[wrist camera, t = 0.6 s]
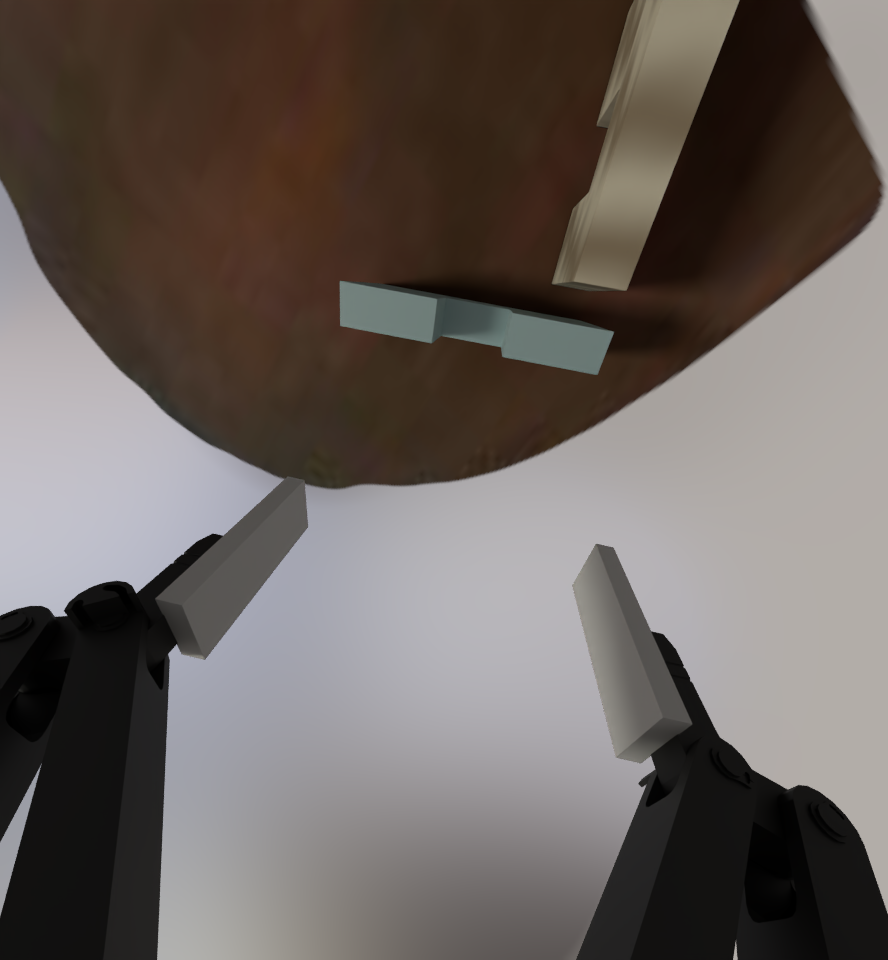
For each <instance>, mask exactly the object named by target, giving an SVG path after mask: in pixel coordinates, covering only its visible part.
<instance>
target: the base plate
mask: <svg viewBox="0 0 888 960" xmlns="http://www.w3.org/2000/svg"><path fill="white" fill-rule="evenodd" d="M340 326H344V327H349V328H355V329H360V330H365V331H370V332H375V333H381V334H386V335H391V336H396V337H402V338H407V339H412V340H417V341H423V342H428V343H433V342H434V341H435V340H436V339H438V338H439V337H440V336H446V337H451V338H456V339H461V340H467V341H472V342H477V343H482V344H488V345H493V346H498V347H501V350H502V357H506V358H511V359H517V360H522V361H527V362H532V363H538V364H543V365H548V366H553V367H558V368H564V369H569V370H574V371H579V372H585V373H590V374H595V375H597V374H598V372H599V369H600V366H601V364H602V361H603V359H604V356H605V354H606V351H607V349H608V346H609V344H610V341H611V339H612V336H613V334H614V332H613V331H610V330H607V329H604V328H601V327H598V326H595V325H592V324H589V323H586V322H583V321H580V320H574V319H569V318H563V317H558V316H553V315H547V314H542V313H536V312H531V311H526V310H520V309H515V308H510V307H504V306H499V305H493V304H488V303H483V302H477V301H472V300H466V299H461V298H456V297H450V296H445V295H440V294H434V293H429V292H423V291H418V290H413V289H407V288H402V287H396V286H391V285H386V284H379V283H364V282H349V281H340Z"/></svg>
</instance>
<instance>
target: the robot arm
mask: <svg viewBox="0 0 888 960" xmlns="http://www.w3.org/2000/svg"><path fill="white" fill-rule="evenodd" d="M307 528H308V520H307V509H306V495H305V482H304V480H301V479H297V478H292V477H287V478H286V479H285V480H284V481H282V482H281V483H280V484H279V485H278V486H277V487H276V488H275V489H274V490H273V491H272V492H271V493H269V494H268V495H267V496H266V497H265V498H264V499H263V500H262V501H261V502H260V503H259V504H257V505H256V506H255V507H254V508H253V509H252V510H251V511H250V512H249V513H248V514H247V515H246V516H244V517H243V518H242V519H241V520H240V521H239V522H238V523H237V524H236V525H235V526H234V527H233V528H231V529H230V530H229V531H228V532H227V533H226V534H225V535H224V536H221V535H217V534H211V535H209V536H207V537H205V538H203V539H201V540H199V541H197V542H196V543H195V544H194V545H192V546H191V547H190V548H189V549H188V550H187V551H185V552H184V555H181V556H180V557H178V558H177V559H176V560H175V561H174V563H173V564H170V565H169V566H168V567H167V568H166V569H165V570H163V571H162V572H161V573H160V574H159V575H157V576H156V577H155V578H154V579H153V580H152V581H150V583H148V584H147V585H146V586H145V587H144V588H142V589H141V590H140V591H139V592H138V593H136V592H135V591H134V589H133V587H132V586H131V585H130V584H128V583H127V582H121V581H113V582H106V583H102V584H99V585H96V586H93V587H91V588H89V589H87V590H85V591H83V592H82V593H80V594H78V595H77V596H76V597H75V598H74V599H72V600H71V601H70V602H69V603H68V605H67V607H66V608H65V610H64V611H65V613H66V614H67V616H63V617H55V616H54V615H53V614H52V612H51V611H50V610H49V609H48V608H45V607H43V606H29V607H24V608H20V609H16V610H13V611H11V612H8V613H6V614H3V615H1V616H0V841H1V840H2V838H3V836H4V834H5V832H6V830H7V828H8V826H9V824H10V822H11V821H12V819H13V817H14V815H15V813H16V811H17V809H18V807H19V805H20V803H21V802H22V800H23V797H24V796H25V794H26V792H27V790H28V788H29V786H30V784H31V783H32V781H33V779H34V777H35V775H36V773H37V771H38V769H39V767H40V765H41V764H42V765H41V768H40V772H39V776H38V780H37V783H36V787H35V791H34V795H33V798H32V802H31V805H30V809H29V813H28V817H27V820H26V824H25V828H24V831H23V835H22V839H21V842H20V846H19V850H18V854H17V857H16V861H15V864H14V868H13V872H12V876H11V879H10V883H9V887H8V890H7V894H6V898H5V902H4V905H3V909H2V912H1V916H0V960H157V948H158V924H159V923H158V922H159V900H160V899H159V898H160V877H161V875H160V874H161V852H162V829H163V804H164V781H165V756H166V734H167V732H166V731H167V710H168V686H169V685H168V684H169V662H170V660H169V656H168V653H169V652H170V651H171V650H172V649H173V648H174V646H175V645H176V644H177V645H178V647H179V649H180V652H181V654H183V655H187V656H191V657H195V658H200V659H204V660H205V659H206V658H207V656H208V655H209V654H210V653H211V651H212V650H213V649H214V647H215V646H216V645H217V643H218V642H219V641H220V640H221V638H222V637H223V636H224V634H225V633H226V632H227V630H228V629H229V628H230V627H231V625H232V624H233V623H234V621H235V620H236V619H237V617H238V616H239V615H240V614H241V613H242V611H243V610H244V609H245V607H246V606H247V605H248V603H249V602H250V601H251V600H252V598H253V597H254V596H255V595H256V593H257V592H258V591H259V589H260V588H261V586H263V584H264V583H265V581H266V580H267V579H268V578H269V577H270V575H271V574H272V573H273V571H274V570H275V569H276V567H277V566H278V565H279V564H280V562H281V561H282V560H283V558H284V557H285V556H286V555H287V553H288V552H289V551H290V549H291V548H292V547H293V546H294V544H295V543H296V542H297V540H298V539H299V538H300V537H301V535H302V534H303V533H304V531H305V530H306V529H307ZM572 586H573V590H574V594H575V598H576V602H577V606H578V610H579V614H580V618H581V622H582V626H583V630H584V634H585V638H586V642H587V645H588V649H589V653H590V657H591V661H592V665H593V669H594V673H595V677H596V681H597V685H598V689H599V693H600V697H601V700H602V705H603V709H604V712H605V716H606V720H607V724H608V728H609V732H610V736H611V740H612V744H613V748H614V752H615V755H616V757H617V758H620V759H624V760H629V761H633V762H637V763H642V762H643V761H645V760H646V759H647V758H648V757H650V756H651V757H652V760H653V762H654V766H655V770H654V771H653V772H651V773H650V774H648V775H647V776H645V777H644V778H643V779H642V780H641V781H640V782H639V785H640V786H641V787H643V786H644V785H646V784H647V785H646V788H645V790H644V793H643V795H642V798H641V800H640V803H639V805H638V808H637V810H636V813H635V815H634V817H633V820H632V822H631V825H630V827H629V830H628V832H627V835H626V837H625V840H624V842H623V845H622V848H621V850H620V852H619V855H618V857H617V860H616V862H615V865H614V867H613V870H612V872H611V875H610V877H609V879H608V882H607V884H606V887H605V889H604V892H603V894H602V897H601V899H600V902H599V904H598V907H597V909H596V912H595V914H594V917H593V919H592V922H591V924H590V927H589V929H588V931H587V934H586V936H585V939H584V941H583V944H582V946H581V949H580V951H579V954H578V956H577V959H576V960H733V956H734V949H735V942H736V944H737V957H738V960H888V914H887V911H886V908H885V905H884V902H883V899H882V896H881V893H880V890H879V887H878V884H877V881H876V878H875V875H874V872H873V870H872V867H871V864H870V861H869V858H868V855H867V852H866V849H865V846H864V844H863V842H862V840H861V838H860V836H859V834H858V832H857V830H856V829H855V827H854V826H853V825H852V823H851V822H850V821H849V819H848V818H847V816H846V815H845V814H844V813H843V812H842V811H841V810H840V809H839V808H838V807H837V806H836V805H835V804H834V803H833V802H832V801H831V800H829V799H828V798H826V797H825V796H824V795H823V794H821V793H820V792H819V791H816V790H815V789H812V788H810V787H808V786H802V785H798V786H796V787H793V788H791V789H789V790H787V789H785V788H783V787H782V786H780V785H778V784H777V783H775V782H773V781H771V780H769V779H768V778H766V777H764V776H762V775H760V774H759V773H757V772H755V771H754V770H752V769H751V768H750V766H749V765H748V763H747V762H746V761H745V759H744V758H743V757H742V755H741V754H740V753H739V752H738V751H737V750H736V749H735V748H734V747H733V746H732V745H730V744H729V743H727V742H726V741H724V740H723V739H721V738H720V737H719V735H718V734H717V732H716V730H715V728H714V726H713V724H712V722H711V720H710V718H709V716H708V714H707V712H706V710H705V708H704V706H703V704H702V701H701V700H700V698H699V695H698V693H697V691H696V689H695V687H694V685H693V683H692V682H690V677H689V675H688V673H687V671H686V669H685V668H684V667H683V666H684V665H683V663H682V661H681V659H680V657H679V655H678V653H677V651H676V649H675V648H674V647H673V645H672V644H671V643H670V642H669V641H668V640H667V638H666V637H665V636H664V635H663V634H660V633H656V632H651V630H650V628H649V626H648V624H647V621H646V619H645V617H644V615H643V612H642V610H641V608H640V606H639V603H638V601H637V599H636V597H635V595H634V592H633V590H632V588H631V586H630V583H629V581H628V579H627V577H626V574H625V572H624V570H623V568H622V566H621V563H620V561H619V559H618V557H617V554H616V552H615V550H614V548H613V547H608V546H604V545H599V544H596V545H595V546H594V548H593V550H592V552H591V554H590V555H589V557H588V559H587V561H586V562H585V564H584V566H583V568H582V569H581V571H580V573H579V575H578V576H577V578H576V580H575V582H574V584H573V585H572Z"/></svg>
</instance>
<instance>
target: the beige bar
mask: <svg viewBox="0 0 888 960" xmlns="http://www.w3.org/2000/svg"><path fill="white" fill-rule="evenodd" d="M738 3H739V0H634V2H633V4H632V6H631V8H630V10H629V13H628V16H627V20H626V23H625V27H624V30H623V34H622V37H621V41H620V45H619V48H618V52H617V55H616V59H615V62H614V66H613V69H612V73H611V76H610V80H609V83H608V87H607V90H606V94H605V98H604V101H603V105H602V108H601V112H600V115H599V119H598V122H597V126H599V127H605V128H608V130H607V134H606V137H605V140H604V144H603V147H602V150H601V154H600V157H599V161H598V164H597V167H596V171H595V174H594V177H593V181H592V184H591V187H590V191H589V193H588V194H587V195H586V196H585V197H584V198H583V199H582V200H581V201H580V202H579V203H578V204H577V205H576V206H575V207H574V209H573V211H572V214H571V218H570V221H569V225H568V228H567V232H566V235H565V239H564V242H563V246H562V249H561V253H560V257H559V260H558V264H557V267H556V271H555V274H554V278H553V281H552V284H554V285H559V286H565V287H570V288H576V289H581V290H587V291H626V290H627V288H628V285H629V283H630V280H631V278H632V275H633V272H634V270H635V267H636V265H637V262H638V260H639V257H640V254H641V252H642V249H643V247H644V244H645V242H646V239H647V236H648V234H649V231H650V229H651V226H652V224H653V221H654V219H655V216H656V213H657V211H658V208H659V206H660V203H661V201H662V198H663V195H664V193H665V190H666V188H667V185H668V183H669V180H670V177H671V175H672V172H673V170H674V167H675V165H676V162H677V160H678V157H679V154H680V152H681V149H682V147H683V144H684V142H685V139H686V136H687V134H688V131H689V129H690V126H691V124H692V121H693V118H694V116H695V113H696V111H697V108H698V106H699V103H700V100H701V98H702V95H703V93H704V90H705V88H706V85H707V83H708V80H709V77H710V75H711V72H712V70H713V67H714V65H715V62H716V59H717V57H718V54H719V52H720V49H721V47H722V44H723V41H724V39H725V36H726V34H727V31H728V29H729V26H730V24H731V21H732V18H733V16H734V13H735V11H736V8H737V6H738Z"/></svg>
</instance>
